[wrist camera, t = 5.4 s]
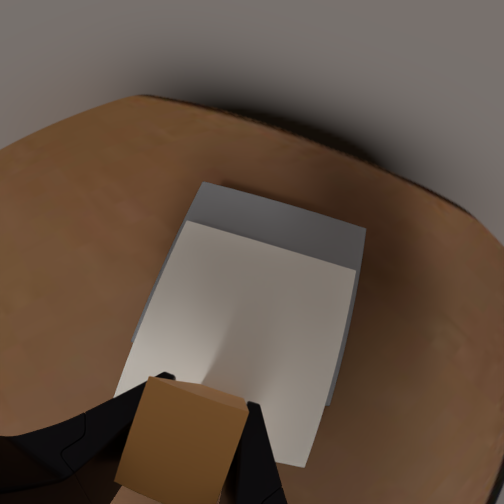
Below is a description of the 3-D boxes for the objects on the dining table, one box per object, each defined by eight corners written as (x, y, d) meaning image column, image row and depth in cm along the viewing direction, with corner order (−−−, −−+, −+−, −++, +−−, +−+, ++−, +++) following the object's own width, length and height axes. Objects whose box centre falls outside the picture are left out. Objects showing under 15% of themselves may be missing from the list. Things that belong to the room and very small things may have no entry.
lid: (302, 465, 14) (375, 540, 4) (115, 402, 15) (-6, 398, 6) (353, 273, 19) (435, 170, 9) (187, 224, 20) (156, 96, 11)
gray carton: (318, 404, 18) (329, 406, 15) (142, 347, 19) (130, 341, 17) (355, 244, 23) (366, 228, 20) (205, 200, 24) (203, 181, 22)
